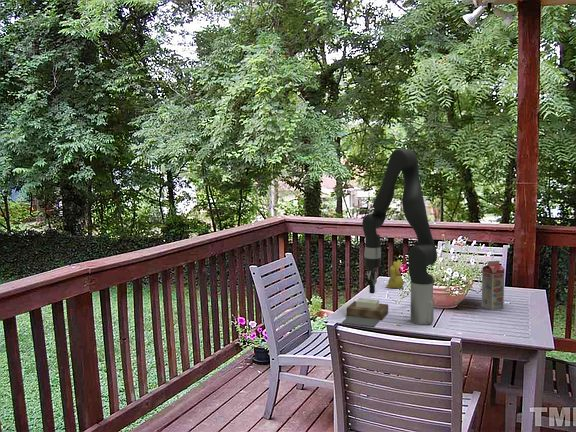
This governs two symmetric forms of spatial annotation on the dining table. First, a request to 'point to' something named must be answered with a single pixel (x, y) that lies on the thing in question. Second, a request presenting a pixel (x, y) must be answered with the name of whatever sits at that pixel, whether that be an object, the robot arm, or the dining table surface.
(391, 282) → the figurine
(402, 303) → the dining table surface
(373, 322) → the mat
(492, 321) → the dining table surface
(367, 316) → the brown flat block
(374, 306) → the tile
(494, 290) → the juice carton
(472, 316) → the dining table surface
